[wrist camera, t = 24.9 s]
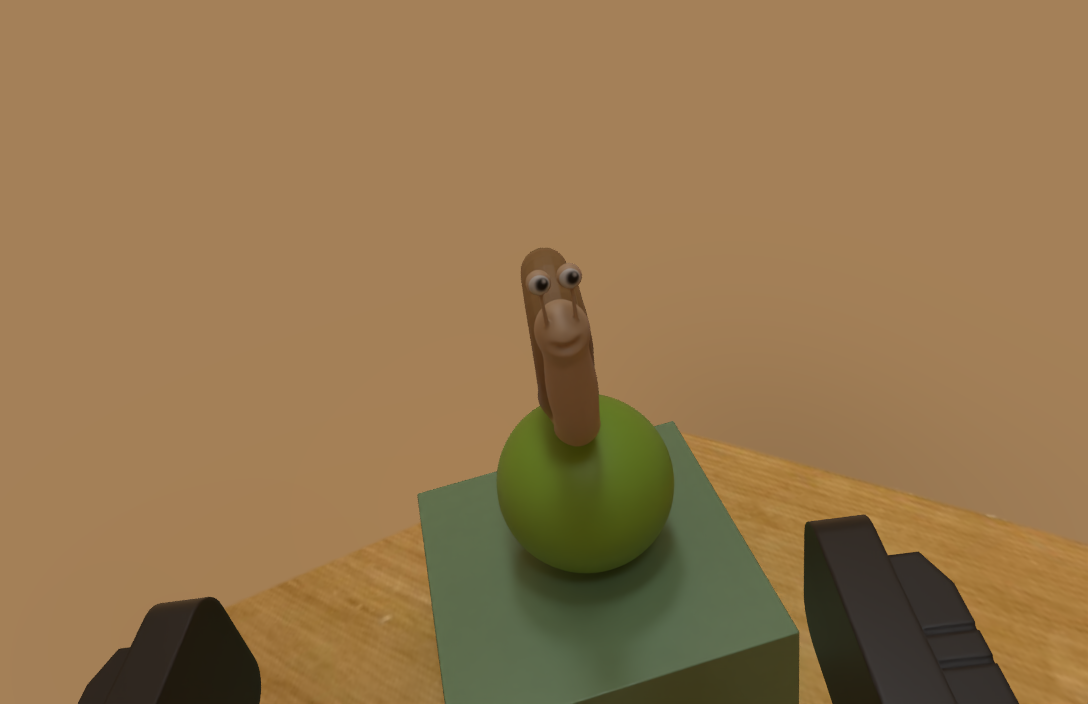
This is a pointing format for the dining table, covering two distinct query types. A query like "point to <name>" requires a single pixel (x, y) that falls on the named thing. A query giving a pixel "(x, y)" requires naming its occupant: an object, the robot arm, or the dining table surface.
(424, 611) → the dining table surface
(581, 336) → the snail figurine
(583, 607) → the green block
